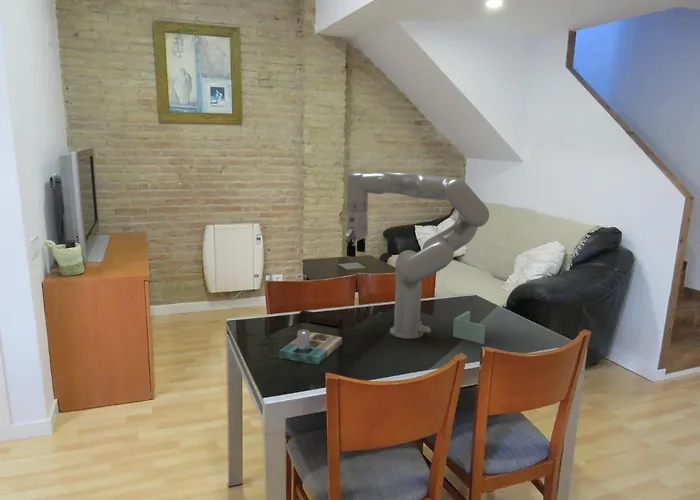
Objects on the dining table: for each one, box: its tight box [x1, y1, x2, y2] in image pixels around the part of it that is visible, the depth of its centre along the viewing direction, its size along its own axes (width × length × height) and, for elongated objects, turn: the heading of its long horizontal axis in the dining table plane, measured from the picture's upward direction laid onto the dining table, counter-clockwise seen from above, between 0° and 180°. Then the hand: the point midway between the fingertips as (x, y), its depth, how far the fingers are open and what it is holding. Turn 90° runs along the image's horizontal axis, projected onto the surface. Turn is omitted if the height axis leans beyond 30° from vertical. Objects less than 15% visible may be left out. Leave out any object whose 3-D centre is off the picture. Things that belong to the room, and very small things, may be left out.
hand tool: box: [297, 310, 344, 329], centre depth 207 cm, size 19×4×5 cm, turn 64°
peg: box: [296, 329, 311, 355], centre depth 173 cm, size 4×4×9 cm
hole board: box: [278, 331, 343, 366], centre depth 179 cm, size 14×20×2 cm
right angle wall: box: [452, 310, 486, 345], centre depth 196 cm, size 12×12×8 cm
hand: (356, 254), depth 191 cm, fingers open, 9 cm apart
